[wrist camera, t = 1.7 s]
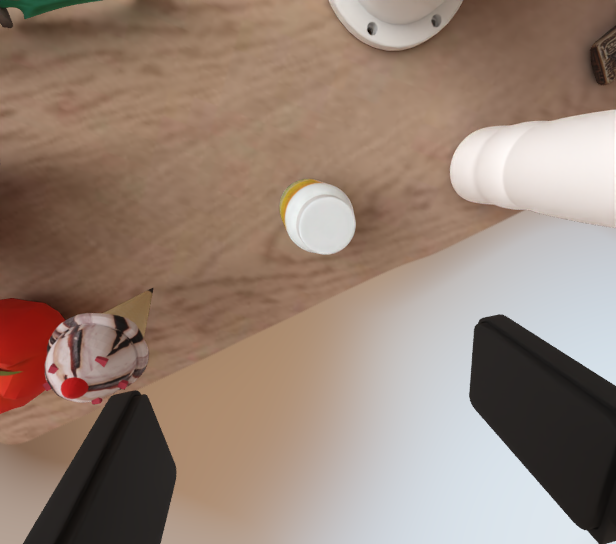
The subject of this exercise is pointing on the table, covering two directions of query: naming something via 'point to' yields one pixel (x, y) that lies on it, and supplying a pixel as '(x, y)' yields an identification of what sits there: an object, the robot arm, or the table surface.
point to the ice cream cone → (98, 352)
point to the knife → (33, 8)
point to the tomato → (24, 349)
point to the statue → (605, 58)
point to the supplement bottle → (317, 216)
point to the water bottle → (543, 167)
